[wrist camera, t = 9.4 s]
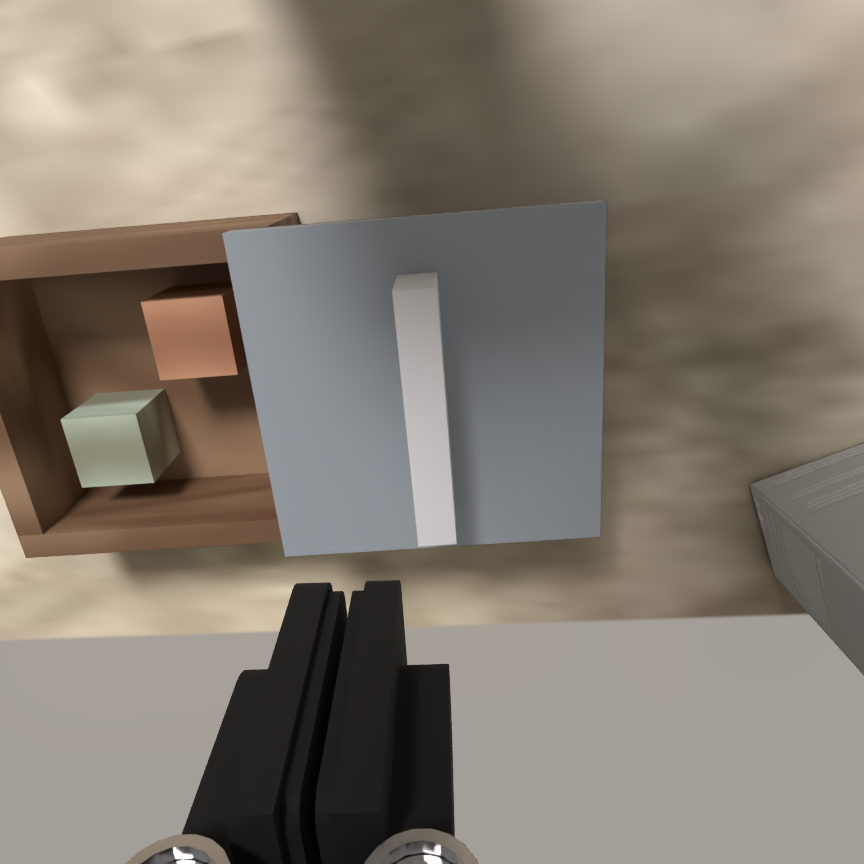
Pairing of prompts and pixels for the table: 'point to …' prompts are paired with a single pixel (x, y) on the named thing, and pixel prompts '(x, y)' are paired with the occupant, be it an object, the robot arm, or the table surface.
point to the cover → (428, 375)
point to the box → (129, 392)
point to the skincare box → (820, 542)
